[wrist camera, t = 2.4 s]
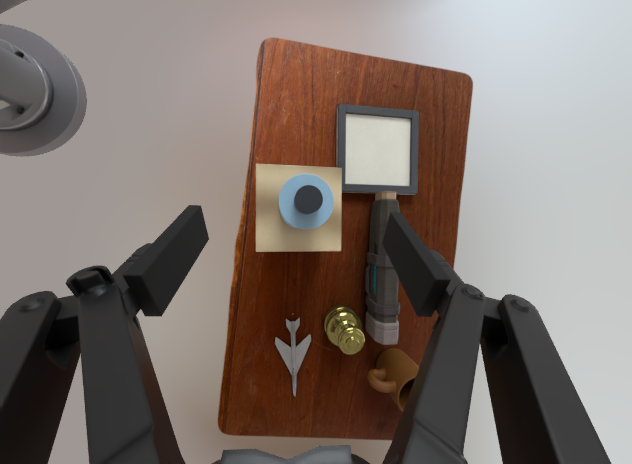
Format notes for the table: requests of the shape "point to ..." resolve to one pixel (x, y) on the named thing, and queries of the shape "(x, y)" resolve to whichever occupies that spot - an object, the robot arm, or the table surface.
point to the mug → (394, 375)
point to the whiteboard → (377, 149)
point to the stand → (272, 226)
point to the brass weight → (344, 329)
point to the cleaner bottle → (305, 201)
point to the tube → (381, 275)
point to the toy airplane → (293, 351)
